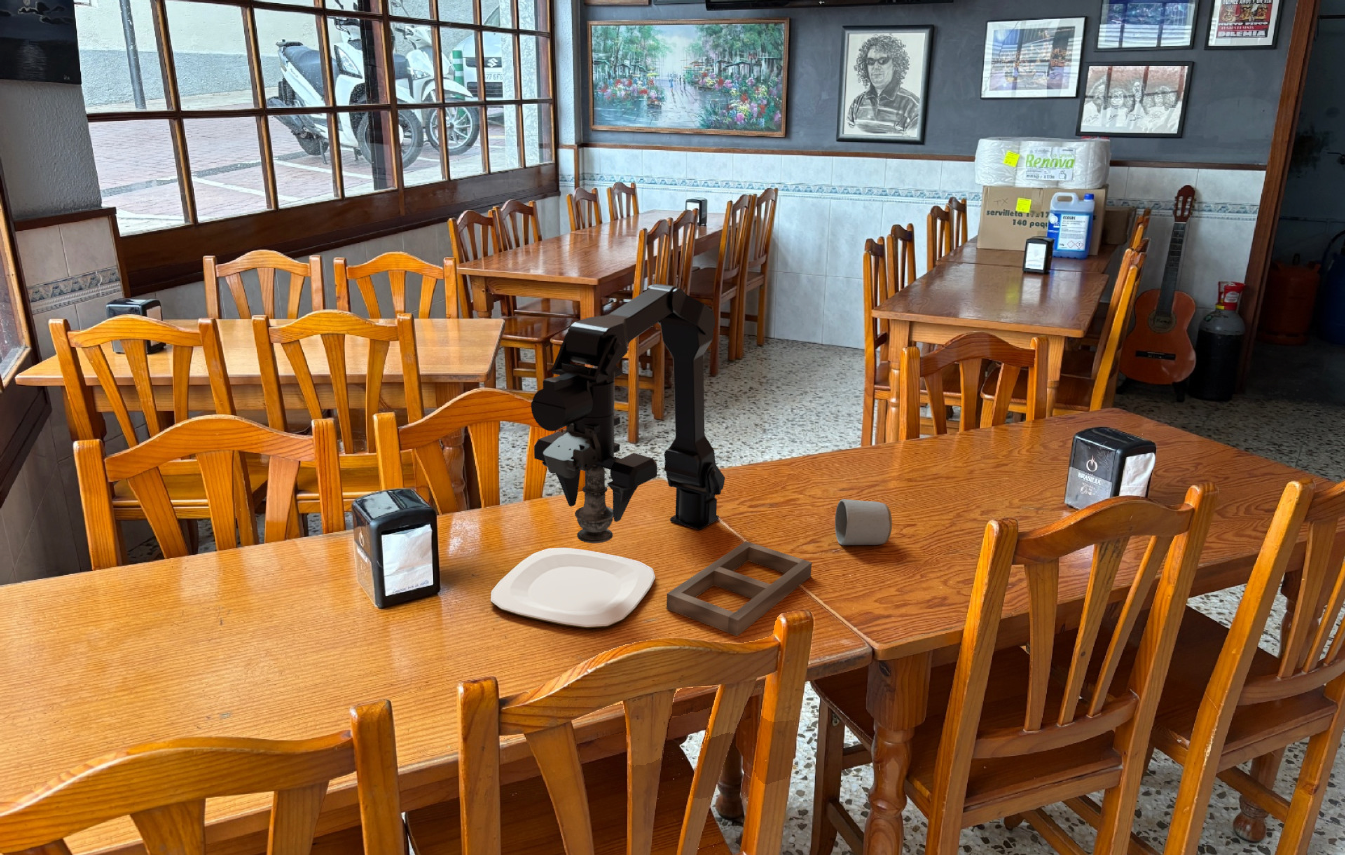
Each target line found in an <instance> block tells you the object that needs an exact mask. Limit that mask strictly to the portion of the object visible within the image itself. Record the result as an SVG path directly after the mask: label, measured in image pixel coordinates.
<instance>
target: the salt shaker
mask: <svg viewBox="0 0 1345 855" xmlns="http://www.w3.org/2000/svg"><path fill="white" fill-rule="evenodd" d="M605 470H606V469H605V468H603V467H599V466H596V465H593V466H592V467H591V468H590V469H589V470H588V471H587V472H586V471H584V486H583V487H582V489H581V490H582V492H583V493H584V503H583V506H581V507H579V508H578V509H576V510H575V512H574V516H575V518H576V521H577V523H578V526H579V527H580V528H581V529H580V530H579V531H578V532H577V534H576V538H577V539H578V540H579V541H581V542H584V543H587V544H603V543H605V542H609V541H611V539H612V538H613V537H614V533H613V531H612V530H610V529H608V528H609V527H611V525H612V522H613V521H614V517H613V508H612V507H609V506H607V503H606V492H608V487H607V486H606V485H605V482H606V475H605V474H606V471H605Z"/></svg>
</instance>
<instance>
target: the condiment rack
mask: <svg viewBox="0 0 1345 855" xmlns="http://www.w3.org/2000/svg"><path fill="white" fill-rule="evenodd" d="M747 562H750V563H754V564H755V565H756V564H757V565H760V566H762V567H766V568H768V569H772V570H775V571H777V572H780V573H783V574H782V575H780V577H778V578H777V579H776V580H775V581H774V582H772V583H768V582H766V581H762V580H759V579H756V578H753V577H751V576H747V575H744V574H741V573H738V572H735V570H737V569H738V568H740V567H742V566H743V565H745V563H747ZM812 564H813V562H811V561H810V560H805V559H803V558H800V557H797V556H793V555H791V554H787V553H784V552H781V551H778V550H774V549H772V548H768V547H765V546H764V545H760V544H757V543H753V542H750V541H743V542H742V543H741V544H739V545H737V546H736V547H735V548H733V549H732V550H730V551H728V552H727V553H726V554H724V555H723V556H721V557H720V558H718V559H716V560H715V561H714V562H712V563H711V564H709V565H708V566H706V567H705V568H703V569H702V570H700V571H698V572H697V573H695V574H694V575H693V576H691V577H690V578H688V579H686V580H685V581H683V582H682V583H681V584H679V585H677V586H676V587H674V588H673V589H671V590H670V591H669V592H667V593H666V608H665V609H666V610H668V611H671V612H674V613H676V614H678V615H681V616H684V617H686V618H689V619H692V620H694V621H696V620H697V622H700V623H702V624H704V623H705V625H707V626H709V625H710V626H709V627H712V626H713V627H712V628H714V627H715V628H714V629H717V628H718V629H717V630H721V631H723V632H725V633H728V634H730V635H733V636H735V637H738V636H739V635H741V634H742V633H744V632H745V630H747V629H748V628H749V627H751V626H752V625H753V624H755V622H756V621H758V620H759V619H761V617H763V616H764V615H765V614H767V612H768V613H769V611H770V610H771V609H773V608H774V607H775V606H777V604H778V603H780V602H781V601H782V600H784V599H785V598H786V597H788V596H789V595H790V594H791V593H792V592H794V591H795V590H796V589H798V588H799V587H800V586H801V585H803V583H805V582H806V581H807V580H808V579H810V578H811V575H812ZM713 586H714V587H718V588H720V589H724V590H726V591H730V592H732V593H735V594H738V595H740V596H742V597H746V598H749V599H750V600H749V601H746V603H745V604H744V605H742V606H740V607H739V608H738V609H737V610H736V611H731V610H729V609H727V608H723V607H721V606H718V605H717V604H716V605H715V604H713V603H710V602H707V601H705V600H702V599H700V598H698V597H699V596H700V595H702V594H703V593H705V592H706V591H707V590H709V589H710V588H711V587H713Z"/></svg>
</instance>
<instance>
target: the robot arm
mask: <svg viewBox="0 0 1345 855" xmlns="http://www.w3.org/2000/svg"><path fill="white" fill-rule="evenodd" d="M656 324H658V325H659V326H660V331H661V332H660V333H661V338H662V342H663V344H664V346H665V347H666V349H667V350H668V351H669V353H670V355H671V356H672V364H673V365H672V367H673V368H672V369H673V397H674V402H673V403H674V404H673V405H674V426H675V427H674V430H675V431H674V432H675V434H674V435H675V437H674V440H673V441H672V442H671V444H670V446H668V449H665V450H664V452H663V457H664V468H663V471H664V472H665V474H666V479H667V484H668V487H670V488H675V513H674V514H675V515H673V516H671V517H670V518H669V521H670V522H673V523H675V524H679V525H682V526H685V527H688V528H691V529H694V530H697V531H701V530H703V529H705V528H707V527H708V526H710V525H711V524H713V523H714V522H716V521H718V520H719V519H720V516H719V515H717V509H718V508H717V507H718V499H717V498H716V496H719V495H722V491H723V489H724V486H725V480H726V477H725V476H724V474H723V473H722V471H721V470H720V468H719V467H718V465H717V464H716V455H715V450H714V448H713V446H712V445H711V443H710V441H709V440H708V438H707V436H706V434H705V387H704V386H705V385H704V384H705V382H704V376H705V375H704V372H705V370H704V354H705V353H706V351H707V349H708V348H709V347H710V345H711V343H712V342H713V339H714V329H715V326H716V316H715V314H714V311H713V310H712V309H711V308H710V307H709V305H707V304H704V303H703V302H701V301H699V300H698V299H696V298H694V297H692V296H690V295H689V294H687V293H686V292H684V290H683V289H682V288H680V287H678V286H676V285H669V284H662V283H654V284H651V285H648V287H647V289H646V290H645V291H643V292H642V293H640V294H639V295H637V296H636V297H634V298H632V299H630V300H629V301H627V302H626V303H623V305H621V306H619V307H618V308H616V309H615V310H613V311H611V312H610V313H608V314H604V315H599V316H591V317H586V318H584V319H580V320H577V321H575V322H572V324H571V325H570V326H569V327H568V329H567V331H566V332H565V333H566V334H565V335H564V338H563V340H562V343H561V346H560V347H559V350H558V353H557V355H556V358H555V360H554V362H553V365H552V368H551V370H550V371H551V372H550V373H551V374H553V375H557V376H555V377H548V378H545V379H543V381H542V389H540V390H538V391H537V392H536V393H534V395H533V397H532V401H531V403H530V410H531V414H532V416H533V419H534V421H535V422H536V423H537V425H538V426H539V427H540V428H541V429H543V430H545V431H548V432H554V433H552V434H549V435H546V436H543V437H541V438H538V439H537V440H536V442H535V444H534V445H533V454H534V455H533V457H534V459H535V460H537V461H540V462H541V464H542V465H543V466H544V467H547V469H548V472H549V473H551V474H553V475H554V474H555V475H556V477H557V480H558V482H559V484H560V486H561V489H562V491H563V494H564V498H565V499H566V501H567V505H568V507H574V506H575V505H576V503H577V501H578V500H577V499H578V495H579V487H580V486H579V485H580V478H581V471H583V472H585V471H586V472H587V471H588V470H589V469H590V468H591V467H592V466H593V465H596V466H599V467H603V468H604V469H605V470H609V472H610V473H609V474H610V475H609V476H610V477H609V478H611V481H609V482H607V484H606V485H607V486H608V487H609V488H610V489H611V491H612V509H613V521H614V522H615V523H618V522H619V521H621V520H622V518H623V516H624V513H625V511H626V509H627V508H628V505H629V503H630V501H631V499H632V497H633V496H634V494H635V492H636V490H637V488H638V487H639V486H641V485H642V484H645V483H647V482H649V481H651V480H653V479H655V478H657V477H658V464H657V462H656V460H655V459H654V458H653V457H650V456H646V455H643V454H638V453H635V452H633V453H631V454H628V455H626V456H624V457H622V458H620V457H617V456H615V453H618V452H620V449H621V448H620V447H621V444H620V443H617V442H615V426H618V425H620V424H621V417H620V416H617V415H615V378H617V377H620V376H622V375H623V373H624V371H623V369H621V368H620V367H619V366H617V364H618V363H619V362H620V361H621V360H622V359H623V358H624V357H625V356H626V355H627V354H628V351H629V350H628V349H629V344H630V343H631V342H632V341H633V340H635V339H636V338H637V337H638V336H640V335H641V334H643V333H645V332H646V331H647V330H649V329H651V328H652V327H653V326H654V325H656ZM571 362H573V363H571ZM574 363H577V364H574ZM578 363H579V364H582V365H579V364H578ZM584 365H588V366H584ZM589 366H592V367H589ZM565 427H566V430H565V432H561V431H558V430H560V429H563V428H565ZM556 431H557V432H556Z"/></svg>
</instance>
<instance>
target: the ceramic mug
mask: <svg viewBox="0 0 1345 855" xmlns="http://www.w3.org/2000/svg"><path fill="white" fill-rule="evenodd" d="M834 514H835V515H834V517H835V518H834V530H835V537H836V541H837V542H838V544H839V545H842V546H864V545H865V546H868V545H869V546H876V545H883V544H886V543H887V542H888V541H889V539H890V537H891V536H892V535H891V534H892V529H893V516H892V512H891V509H890V507H889V506H888V505H887V504H886V503H884V502H879V501H871V500H869V501H866V500H857V499H845V498H843V499H840V500H839V502H838V503H837V506H836V510H835V513H834Z"/></svg>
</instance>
